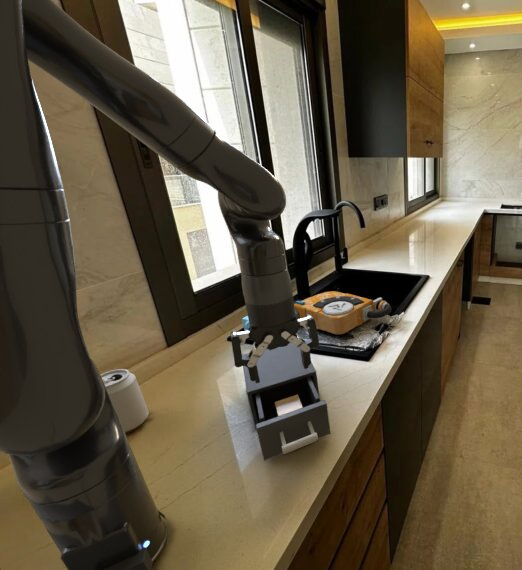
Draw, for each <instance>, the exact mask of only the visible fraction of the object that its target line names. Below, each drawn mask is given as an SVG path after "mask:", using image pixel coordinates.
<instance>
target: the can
mask: <svg viewBox="0 0 522 570" xmlns="http://www.w3.org/2000/svg"><path fill="white" fill-rule="evenodd" d="M100 375H101V377H102V380H103V382H104V385H105V387H106V389H107V392H108V394H109V397H110V399H111V401H112V404H113V406H114V408H115V410H116V413H117V415H118V417H119V419H120V422H121V424H122V427H123V429H124V432H125V434H126V433H128V432H131V431H134V429H136V428H138V427H140V426H141V425H142V424H143V423H145V420H146V419H147V418H148V417H149V415H150V412H149V409H148V406H147V404H146V401H145V399H144V395H143V393H142V390H141V388H140V385H139V383H138V381H137V378H136V375H135V374H134V373H131V372H130V370H129V369H125V368H117V369H113V370H108V371H106V372H103V373H100Z"/></svg>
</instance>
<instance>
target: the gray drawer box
mask: <svg viewBox="0 0 522 570" xmlns="http://www.w3.org/2000/svg"><path fill="white" fill-rule="evenodd" d="M248 353H249V352H247V353H242V356H247V355H248ZM256 365H257V370H258V375H259V379H260V382H259V383H256V382H255V381H251V380H250V375H249V370H248V367H246V366H242V368H243V375H244V382H245V390H246V395H247V399H248V404H249V407H250V412H251V416H252V421H253V425H254V428H255V430H257V429H256V424H258V423H260V419H259V414H258V408H257V403H256V397H255V393H258V392H261V391H264V390H268V389H271V388H274V387H277V386H280V385H284V384H287V383H290V382H293V381H296V380H300V379H303V378H306V377H309V376H310V377H311V380H312V382H313V384H314V386H315V389H316V391H317V393H318V395H319V398H320V399H321V397H320V390H319V384H318V377H317V376H318V375H317V370H316V369H315V366H314V364H313V362H312V361H311V364H310V365H308V368H307V369H304V367H303V364H302V358H301V351H300V348H299V347H296V346H295V345H293V344H292V343H291V342H290V343H289V344H288V346H284V347H277V348H275V349H273V350H269V349H266V350H265V351H264V353H263V355H262V356H261V357H260V358H259V359H258V361H257V362H256Z"/></svg>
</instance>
